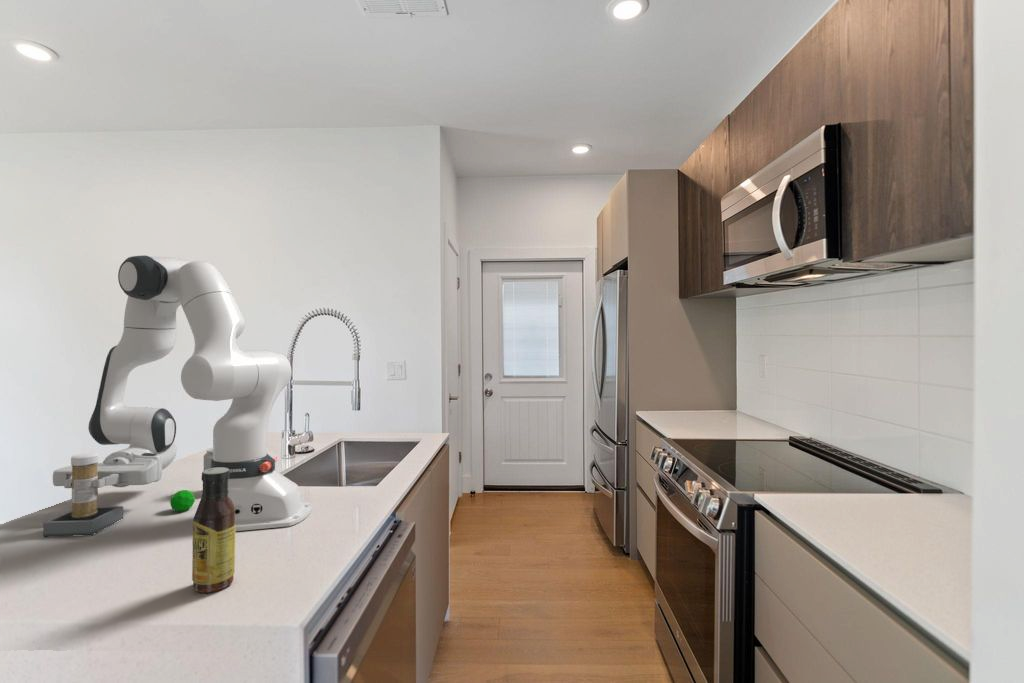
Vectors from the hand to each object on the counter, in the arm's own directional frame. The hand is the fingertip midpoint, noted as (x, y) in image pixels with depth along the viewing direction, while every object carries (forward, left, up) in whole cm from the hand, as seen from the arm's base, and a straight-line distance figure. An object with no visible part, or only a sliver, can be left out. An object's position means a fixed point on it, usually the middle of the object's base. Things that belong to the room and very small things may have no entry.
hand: (81, 484), depth 109 cm
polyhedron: (-15, -11, -10) cm, 21 cm away
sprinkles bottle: (0, -1, -7) cm, 7 cm away
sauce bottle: (-41, +28, -10) cm, 51 cm away
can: (-17, -25, -10) cm, 32 cm away
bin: (0, -1, -10) cm, 10 cm away
